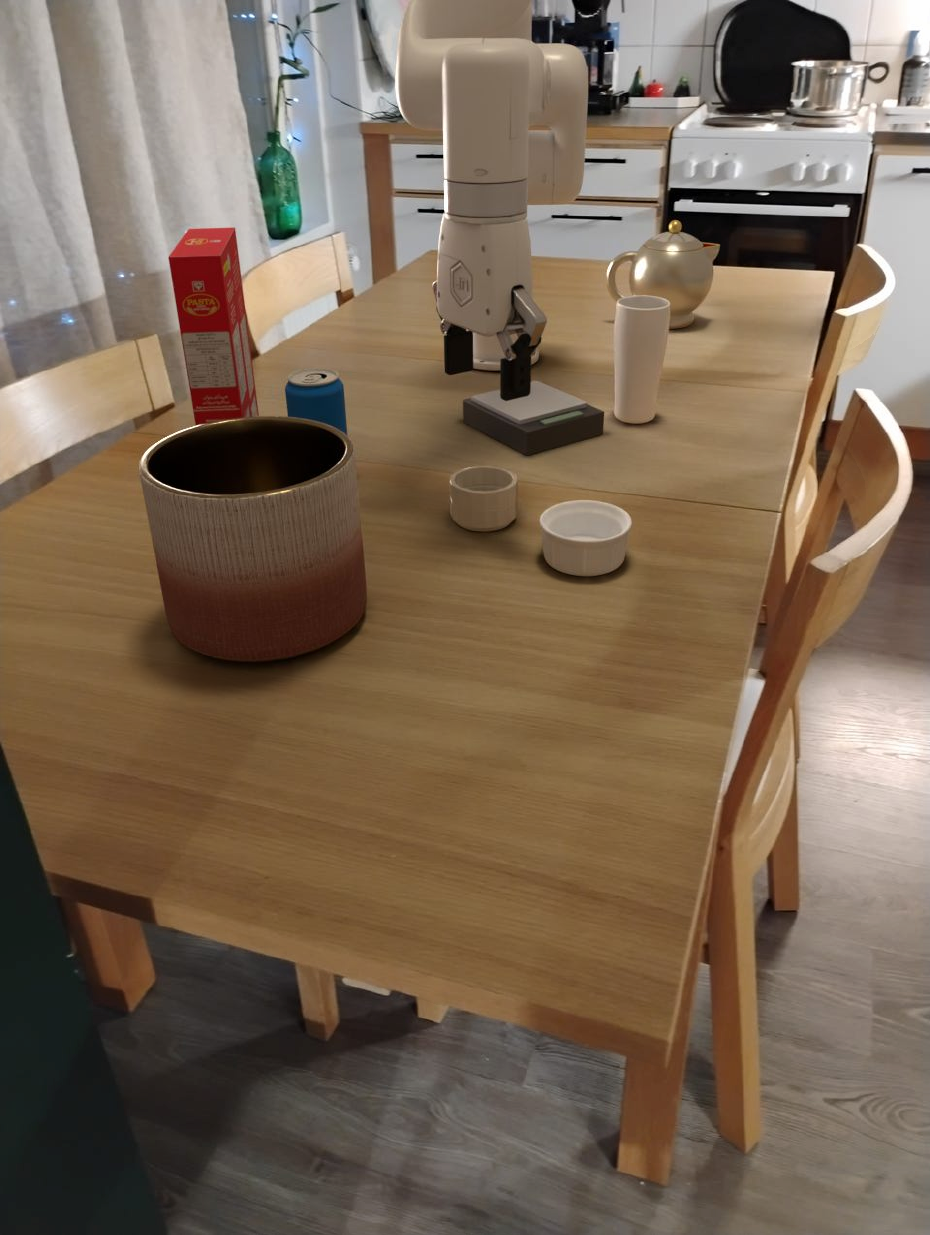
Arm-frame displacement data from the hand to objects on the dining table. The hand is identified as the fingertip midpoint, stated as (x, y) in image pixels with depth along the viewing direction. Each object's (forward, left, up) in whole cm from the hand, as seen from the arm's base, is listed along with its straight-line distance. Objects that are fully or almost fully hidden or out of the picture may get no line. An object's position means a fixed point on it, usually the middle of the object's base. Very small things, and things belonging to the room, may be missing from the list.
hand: (486, 384), depth 100 cm
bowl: (0, 0, -15) cm, 15 cm away
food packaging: (-32, -15, -15) cm, 38 cm away
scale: (-18, +20, -15) cm, 30 cm away
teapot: (-44, +66, -15) cm, 80 cm away
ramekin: (+13, +3, -15) cm, 20 cm away
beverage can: (-20, -9, -15) cm, 27 cm away
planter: (+5, -27, -15) cm, 32 cm away
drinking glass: (-13, +33, -15) cm, 38 cm away
